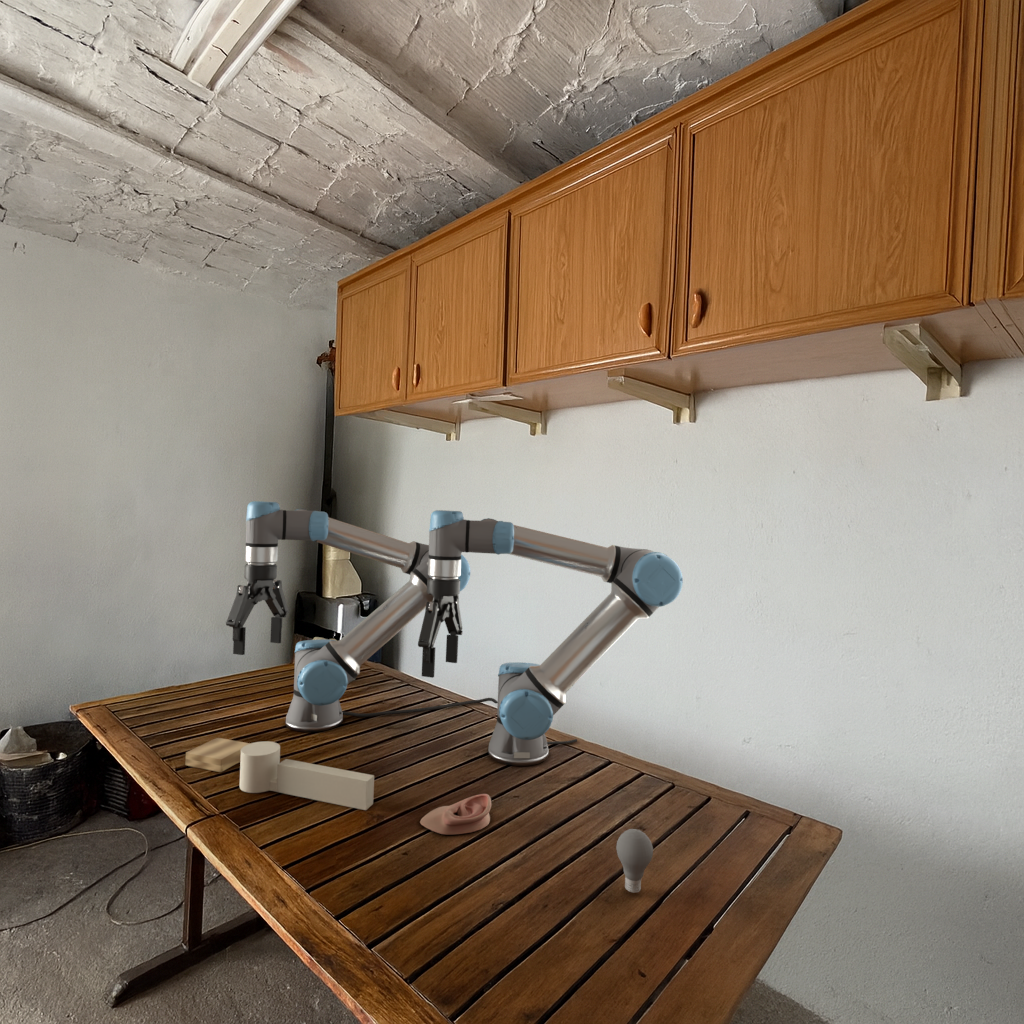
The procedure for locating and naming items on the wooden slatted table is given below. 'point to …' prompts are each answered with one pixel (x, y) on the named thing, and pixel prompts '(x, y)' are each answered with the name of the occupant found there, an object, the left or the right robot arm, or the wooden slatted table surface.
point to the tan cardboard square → (215, 754)
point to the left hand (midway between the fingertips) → (258, 648)
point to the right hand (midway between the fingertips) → (440, 669)
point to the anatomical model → (460, 816)
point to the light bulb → (634, 857)
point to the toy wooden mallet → (302, 778)
